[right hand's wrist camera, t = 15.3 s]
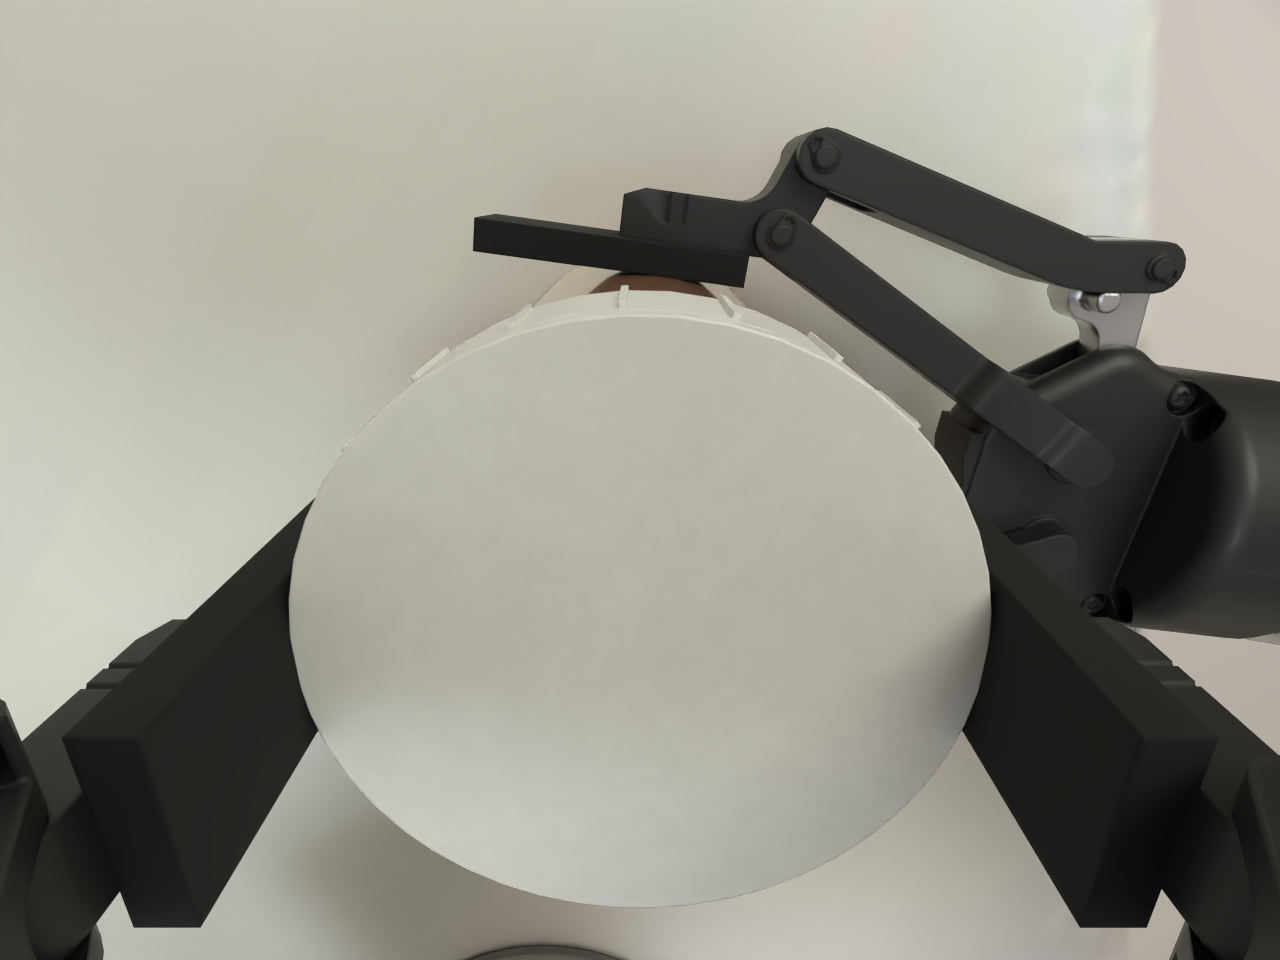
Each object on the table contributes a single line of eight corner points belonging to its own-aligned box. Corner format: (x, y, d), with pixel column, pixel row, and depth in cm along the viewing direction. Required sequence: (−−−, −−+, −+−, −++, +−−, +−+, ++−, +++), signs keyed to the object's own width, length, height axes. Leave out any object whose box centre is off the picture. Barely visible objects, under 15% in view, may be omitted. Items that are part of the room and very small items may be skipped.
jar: (764, 244, 24) (979, 336, 9) (759, 484, 28) (910, 855, 12) (504, 255, 25) (275, 366, 9) (530, 494, 28) (395, 871, 12)
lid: (971, 268, 10) (1053, 288, 8) (904, 799, 14) (949, 903, 12) (284, 299, 11) (197, 325, 8) (400, 816, 14) (359, 921, 12)
